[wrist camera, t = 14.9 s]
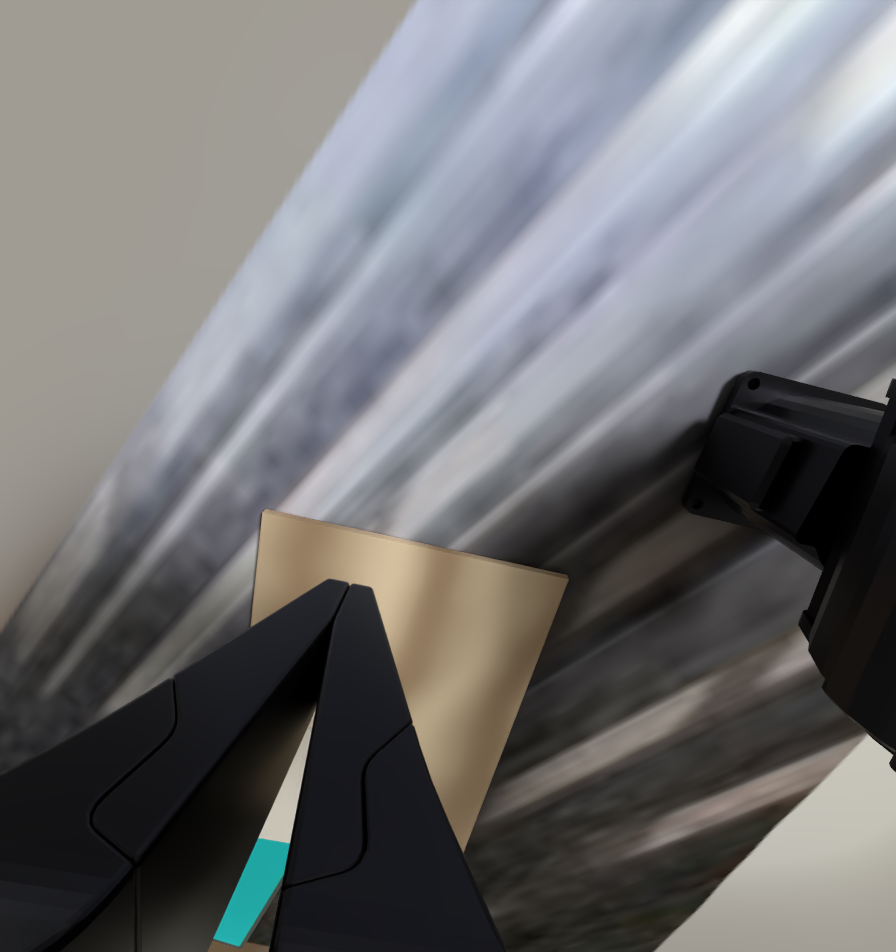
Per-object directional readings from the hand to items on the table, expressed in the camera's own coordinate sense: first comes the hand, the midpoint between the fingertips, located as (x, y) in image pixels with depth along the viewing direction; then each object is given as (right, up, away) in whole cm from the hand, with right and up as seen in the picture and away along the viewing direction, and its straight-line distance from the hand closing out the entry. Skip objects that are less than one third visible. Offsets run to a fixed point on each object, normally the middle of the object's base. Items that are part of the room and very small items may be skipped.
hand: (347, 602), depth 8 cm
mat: (-2, -11, +17) cm, 20 cm away
